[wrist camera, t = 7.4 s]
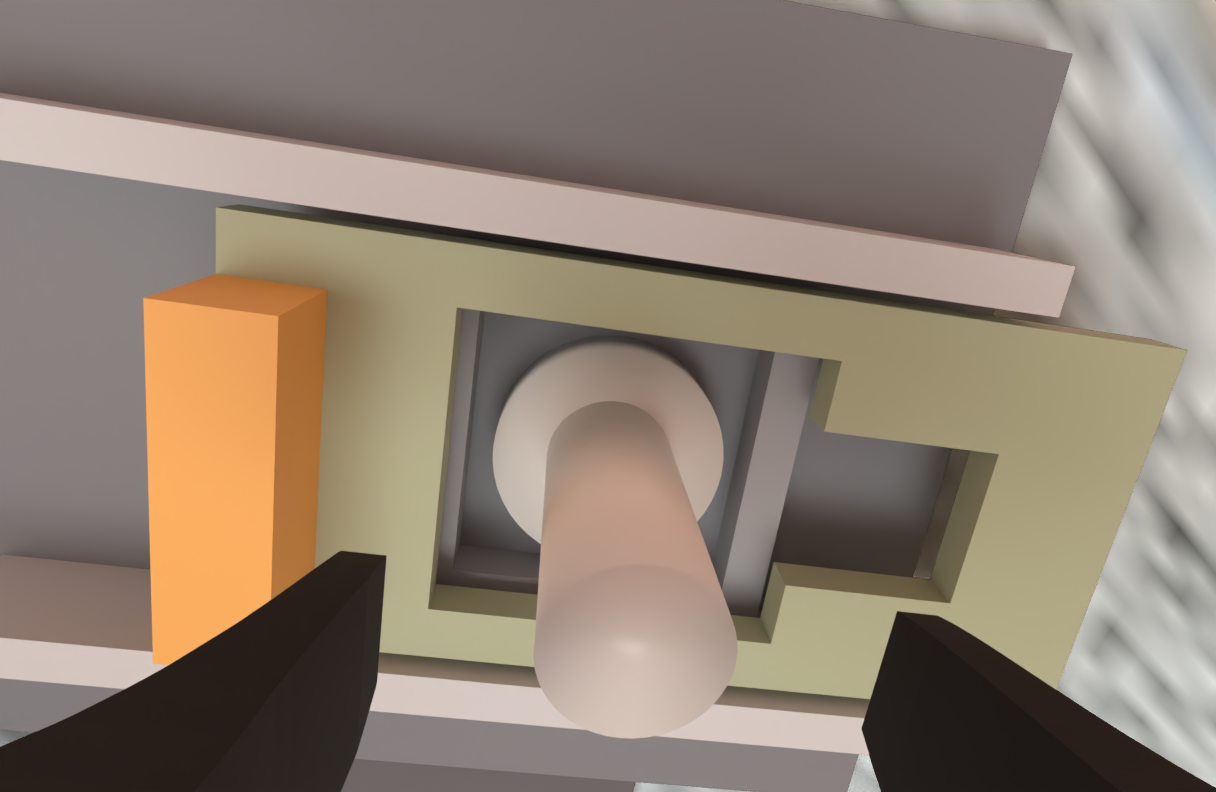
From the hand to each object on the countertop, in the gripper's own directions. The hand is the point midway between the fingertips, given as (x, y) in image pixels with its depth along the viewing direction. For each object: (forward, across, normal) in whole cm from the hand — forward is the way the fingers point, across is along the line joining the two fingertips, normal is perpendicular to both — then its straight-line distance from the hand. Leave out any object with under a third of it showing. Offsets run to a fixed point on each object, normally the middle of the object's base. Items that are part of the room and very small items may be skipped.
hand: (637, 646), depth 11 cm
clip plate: (+6, -2, 0) cm, 7 cm away
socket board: (+9, +4, 0) cm, 10 cm away
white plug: (+8, 0, 0) cm, 8 cm away
